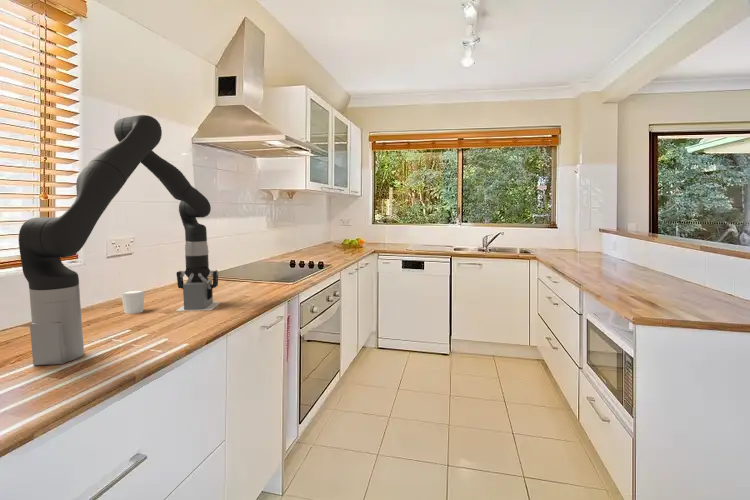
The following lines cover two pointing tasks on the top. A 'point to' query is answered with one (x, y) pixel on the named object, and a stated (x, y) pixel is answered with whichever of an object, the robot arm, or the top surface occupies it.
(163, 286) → the top surface
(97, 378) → the top surface
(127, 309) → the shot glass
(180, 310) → the white square plate
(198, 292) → the grey rectangular block
